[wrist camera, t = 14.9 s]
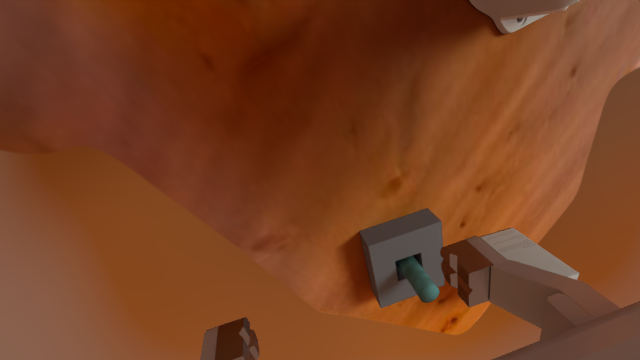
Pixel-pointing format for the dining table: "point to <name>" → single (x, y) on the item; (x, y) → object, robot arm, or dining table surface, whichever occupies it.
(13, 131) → the dining table surface
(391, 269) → the hole block
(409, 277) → the teal peg
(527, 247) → the supplement box
